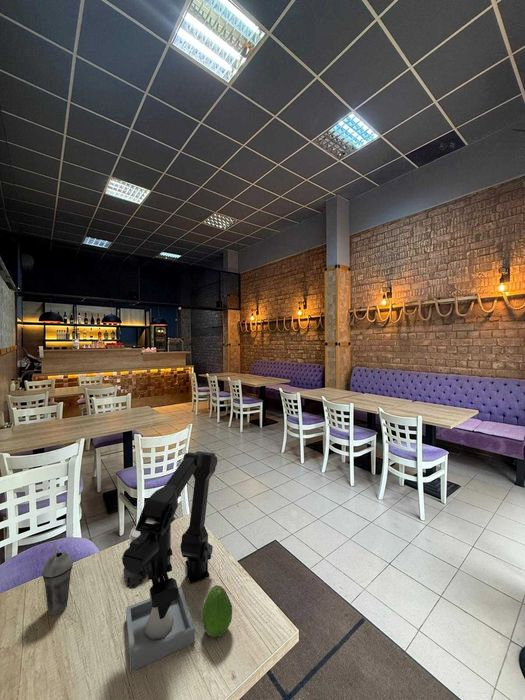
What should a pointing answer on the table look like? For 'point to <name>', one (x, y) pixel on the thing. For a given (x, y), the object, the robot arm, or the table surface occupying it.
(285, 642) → the table surface
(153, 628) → the flask
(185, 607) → the serving bin
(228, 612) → the avocado
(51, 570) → the beverage cup
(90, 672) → the table surface
